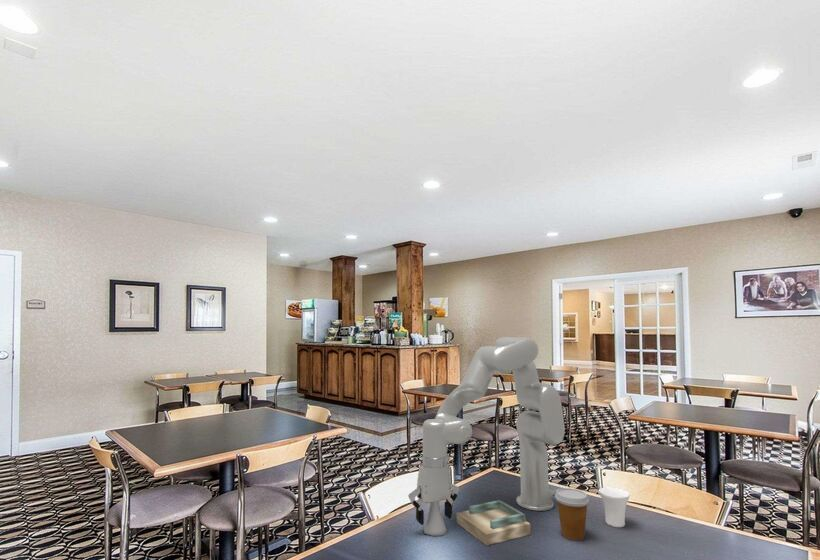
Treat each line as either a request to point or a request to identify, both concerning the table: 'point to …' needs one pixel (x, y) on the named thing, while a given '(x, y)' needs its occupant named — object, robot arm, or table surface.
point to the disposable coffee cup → (572, 512)
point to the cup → (614, 505)
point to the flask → (434, 521)
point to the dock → (494, 522)
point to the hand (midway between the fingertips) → (434, 519)
